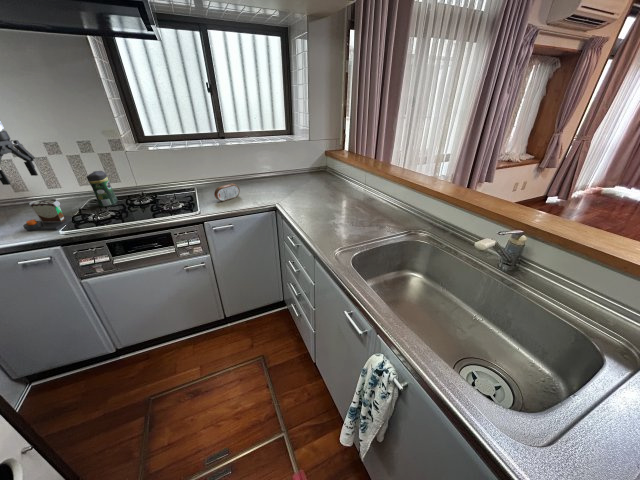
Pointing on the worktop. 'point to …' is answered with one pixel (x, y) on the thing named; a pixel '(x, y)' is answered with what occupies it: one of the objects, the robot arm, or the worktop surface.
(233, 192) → the tin
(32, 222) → the tare button
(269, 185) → the worktop surface
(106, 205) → the coffee jar
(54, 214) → the food container
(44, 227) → the scale
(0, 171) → the robot arm
